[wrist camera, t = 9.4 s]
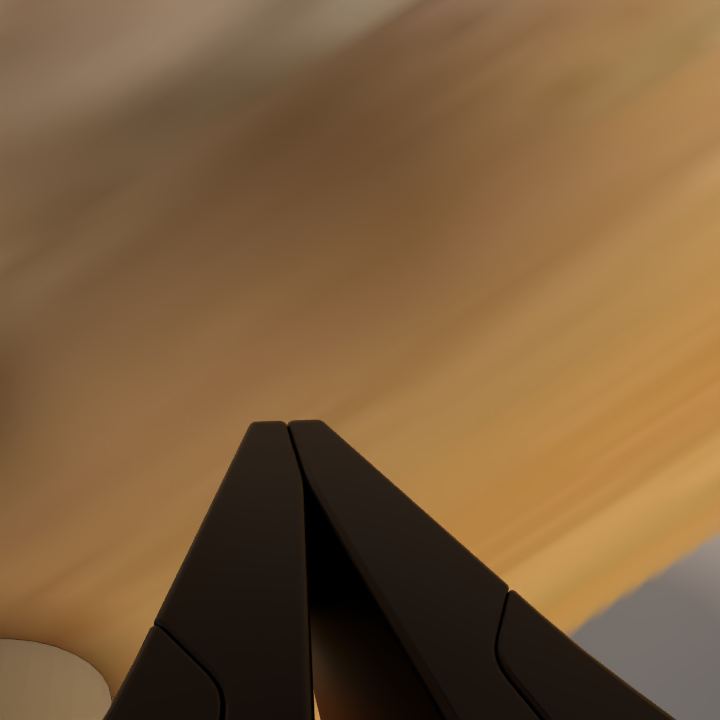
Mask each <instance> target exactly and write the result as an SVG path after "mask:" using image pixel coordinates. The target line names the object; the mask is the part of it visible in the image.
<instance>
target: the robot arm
mask: <svg viewBox="0 0 720 720" xmlns="http://www.w3.org/2000/svg"><path fill="white" fill-rule="evenodd" d="M508 590H509V587H508V585H507V584H506V583H505V582H504V581H503V580H502V579H501V578H499V577H498V576H497V575H496V574H495V573H494V572H493V571H491V570H490V569H489V568H488V567H487V566H486V565H485V564H484V563H482V562H481V561H480V560H479V559H478V558H477V557H476V556H475V555H473V554H472V553H471V552H470V551H469V550H468V549H467V548H465V547H464V546H463V545H462V544H461V543H460V542H459V541H458V540H456V539H455V538H454V537H453V536H452V535H451V534H450V533H449V532H447V531H446V530H445V529H444V528H443V527H442V526H441V525H439V524H438V523H437V522H436V521H435V520H434V519H433V518H432V517H430V516H429V515H428V514H427V513H426V512H425V511H424V510H423V509H421V508H420V507H419V506H418V505H417V504H416V503H415V502H413V501H412V500H411V499H410V498H409V497H408V496H407V495H406V494H404V493H403V492H402V491H401V490H400V489H399V488H398V487H397V486H395V485H394V484H393V483H392V482H391V481H390V480H389V479H387V478H386V477H385V476H384V475H383V474H382V473H381V472H380V471H378V470H377V469H376V468H375V467H374V466H373V465H372V464H371V463H369V462H368V461H367V460H366V459H365V458H364V457H363V456H362V455H360V454H359V453H358V452H357V451H356V450H355V449H354V448H352V447H351V446H350V445H349V444H348V443H347V442H346V441H345V440H343V439H342V438H341V437H340V436H339V435H338V434H337V433H336V432H334V431H333V430H332V429H331V428H330V427H329V426H328V425H326V424H325V423H324V422H323V421H321V420H293V421H290V422H288V424H287V425H286V424H285V423H284V422H282V421H262V422H253V423H251V424H250V426H249V427H248V429H247V431H246V433H245V436H244V438H243V440H242V442H241V444H240V446H239V448H238V450H237V452H236V454H235V456H234V458H233V460H232V462H231V464H230V466H229V468H228V471H227V473H226V475H225V477H224V479H223V481H222V483H221V485H220V487H219V489H218V491H217V493H216V495H215V497H214V499H213V501H212V503H211V505H210V508H209V510H208V512H207V514H206V516H205V518H204V520H203V522H202V524H201V526H200V528H199V530H198V532H197V534H196V536H195V538H194V540H193V543H192V545H191V547H190V549H189V551H188V553H187V555H186V557H185V559H184V561H183V563H182V565H181V567H180V569H179V571H178V573H177V575H176V578H175V580H174V582H173V584H172V586H171V588H170V590H169V592H168V594H167V596H166V598H165V600H164V602H163V604H162V606H161V608H160V610H159V612H158V615H157V617H156V619H155V621H154V626H153V627H151V628H150V630H149V632H148V634H147V636H146V638H145V640H144V642H143V644H142V646H141V649H140V651H139V653H138V655H137V657H136V659H135V661H134V663H133V665H132V666H131V668H130V670H129V672H128V674H127V676H126V678H125V680H124V681H123V683H122V685H121V687H120V689H119V691H118V693H117V695H116V696H115V698H114V700H113V702H112V704H111V706H110V708H109V710H108V711H107V713H106V715H105V716H104V718H103V719H102V720H315V715H314V694H315V698H316V702H317V706H318V711H319V715H320V719H321V720H676V719H674V718H673V717H672V716H670V715H669V714H668V713H666V712H665V711H664V710H662V709H661V708H660V707H658V706H657V705H656V704H654V703H653V702H652V701H650V700H649V699H647V698H646V697H645V696H643V695H642V694H641V693H639V692H638V691H637V690H635V689H634V688H633V687H631V686H630V685H629V684H627V683H626V682H625V681H624V680H622V679H621V678H620V677H618V676H617V675H616V674H614V673H613V672H612V671H611V670H609V669H608V668H607V667H605V666H604V665H603V664H601V663H600V662H599V661H598V660H596V659H595V658H594V657H592V656H591V655H590V654H588V653H587V652H586V651H585V650H583V649H582V648H581V647H580V646H578V645H577V644H576V643H575V642H574V641H573V640H571V639H570V638H569V637H568V636H567V635H565V634H564V633H563V632H562V631H561V630H560V629H558V628H557V627H556V626H555V625H554V624H552V623H551V622H550V621H549V620H548V619H546V618H545V617H544V616H543V615H542V614H541V613H539V612H538V611H537V610H536V609H535V608H534V607H533V606H531V605H530V604H529V603H528V602H527V601H526V600H525V599H524V598H522V597H521V596H520V595H519V594H518V593H517V592H516V591H514V590H511V591H509V592H508ZM313 689H314V691H313Z"/></svg>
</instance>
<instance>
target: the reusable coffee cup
mask: <svg viewBox="0 0 720 720" xmlns="http://www.w3.org/2000/svg"><path fill="white" fill-rule="evenodd" d="M111 704H112V701H111V695H110V691H109V687H108V685H107V683H106V682H105V680H104V678H103V677H102V675H101V674H100V673H99V672H98V671H97V670H96V669H95V668H94V667H93V666H92V665H91V664H89V663H88V662H86V661H85V660H83V659H81V658H80V657H78V656H77V655H75V654H73V653H70V652H68V651H65V650H62V649H60V648H57V647H55V646H50V645H46V644H42V643H38V642H33V641H24V640H14V639H0V720H102V719H103V718H104V716H105V715H106V713H107V711H108V710H109V708H110V706H111Z"/></svg>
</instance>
